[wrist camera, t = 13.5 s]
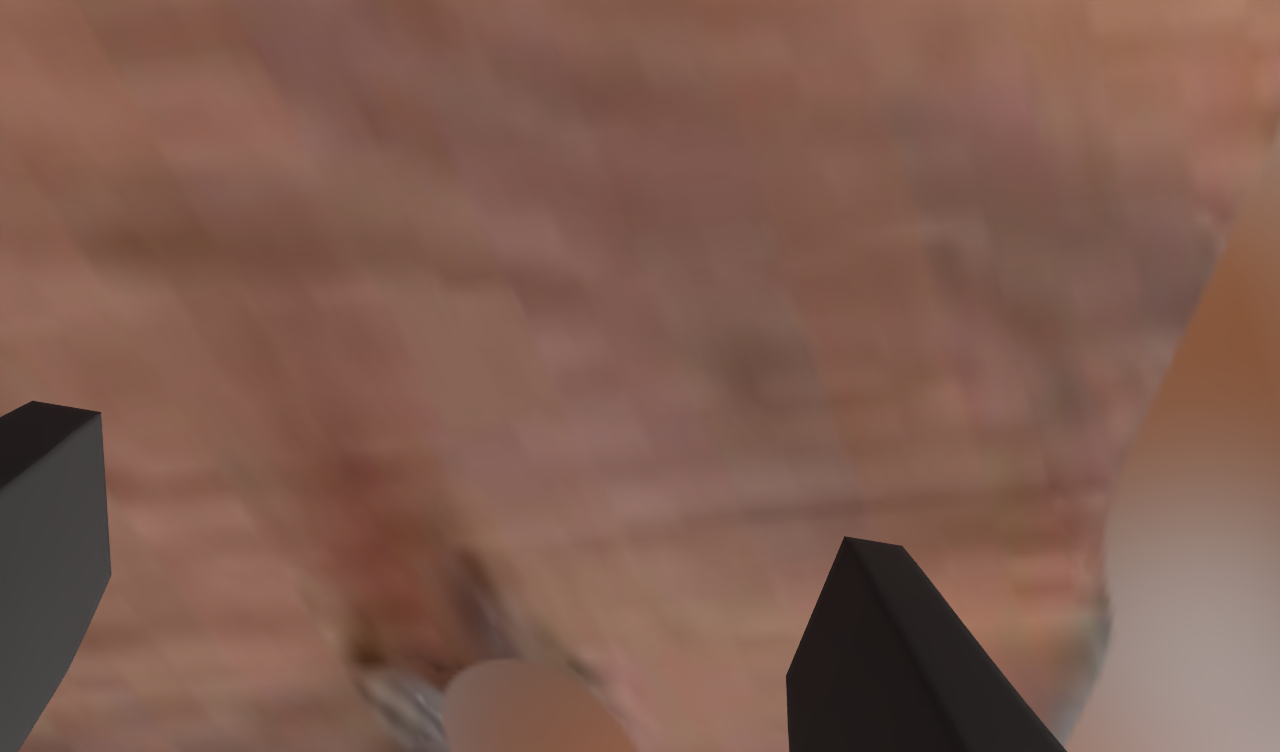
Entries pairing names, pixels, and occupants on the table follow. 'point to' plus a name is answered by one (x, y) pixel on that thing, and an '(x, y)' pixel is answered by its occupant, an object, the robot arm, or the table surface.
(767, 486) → the table surface
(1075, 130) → the table surface
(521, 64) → the table surface
